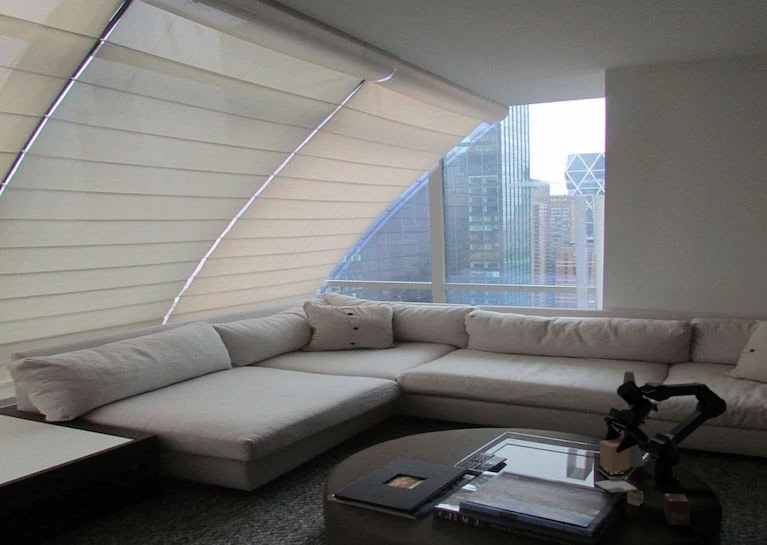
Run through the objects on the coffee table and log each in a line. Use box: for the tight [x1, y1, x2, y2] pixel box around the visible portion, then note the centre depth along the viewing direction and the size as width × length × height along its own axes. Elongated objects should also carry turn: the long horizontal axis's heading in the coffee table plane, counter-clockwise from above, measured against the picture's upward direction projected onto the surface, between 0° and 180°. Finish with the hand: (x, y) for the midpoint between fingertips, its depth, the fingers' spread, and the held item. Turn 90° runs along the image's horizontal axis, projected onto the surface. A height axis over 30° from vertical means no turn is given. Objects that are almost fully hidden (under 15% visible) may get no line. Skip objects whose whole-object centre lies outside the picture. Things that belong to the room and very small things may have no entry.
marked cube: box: [626, 489, 644, 507], centre depth 212 cm, size 4×4×4 cm
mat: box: [593, 479, 638, 493], centre depth 226 cm, size 10×10×1 cm
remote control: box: [597, 464, 626, 480], centre depth 237 cm, size 6×13×2 cm, turn 2°
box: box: [663, 493, 691, 526], centre depth 197 cm, size 6×6×7 cm
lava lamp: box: [620, 370, 645, 468], centre depth 247 cm, size 9×9×35 cm
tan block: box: [599, 438, 631, 472], centre depth 225 cm, size 7×7×8 cm
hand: (610, 448), depth 225 cm, fingers closed on tan block, 7 cm apart
